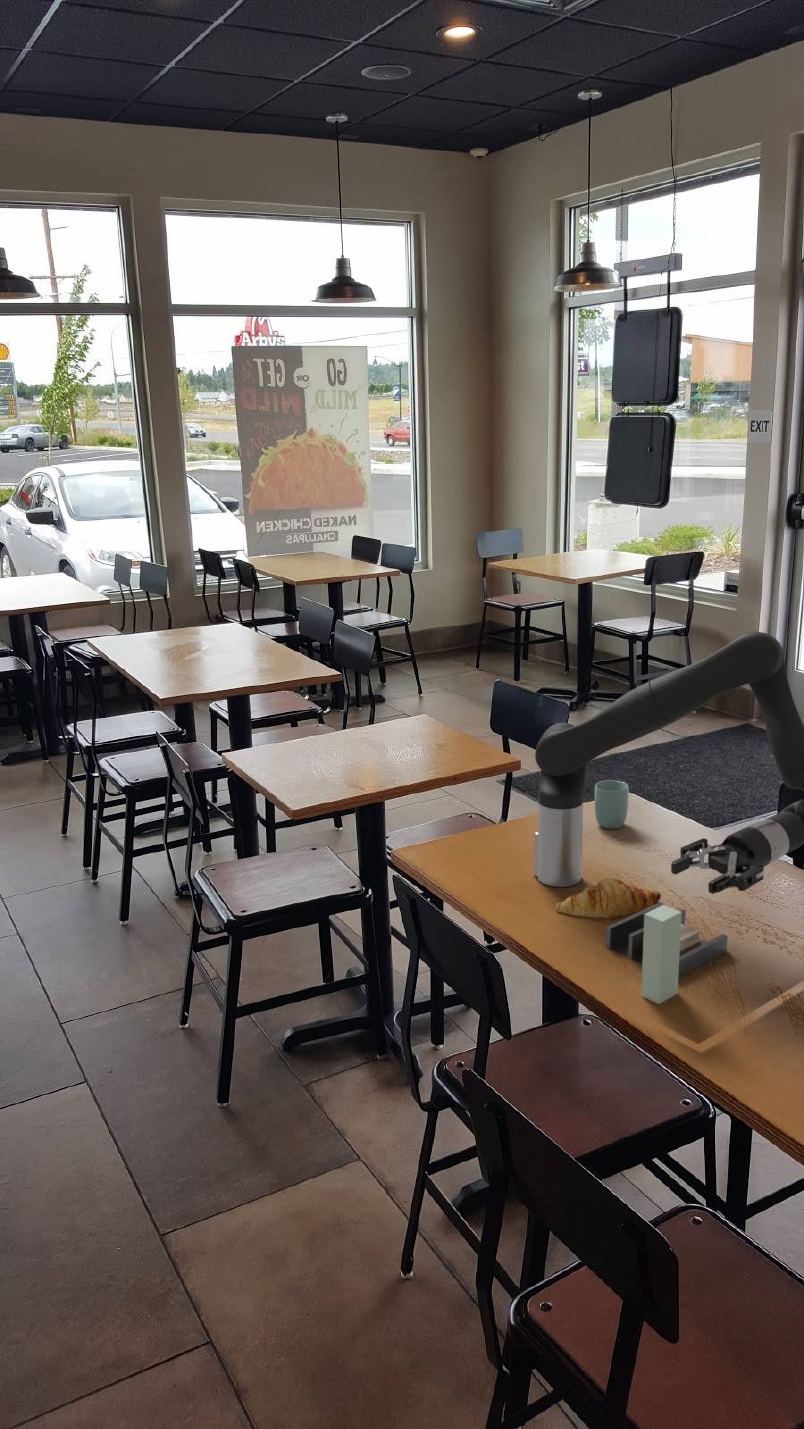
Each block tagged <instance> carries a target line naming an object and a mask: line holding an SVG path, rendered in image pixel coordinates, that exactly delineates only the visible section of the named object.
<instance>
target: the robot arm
mask: <svg viewBox="0 0 804 1429" xmlns="http://www.w3.org/2000/svg"><path fill="white" fill-rule="evenodd" d="M746 685H748V686H749V687H750V689H751V691H752V693H753V695H754V697H755V699H756V702H757V704H758V707H759V709H760V712H761V715H762V720H763V722H764V726H765V729H766V734H767V737H768V743H769V745H770V746H769V747H770V748H771V752H772V755H773V758H774V761H775V763H776V766H777V769H778V772H779V773H780V776H781V778H782V781H783V784H784V785H785V786H786V787H787V788H789V789H796V790H800V791H802V792H803V793H804V722H803V721H802V719H801V718H802V717H801V716H800V714H799V710H798V709H797V705H796V703H795V700H794V697H793V695H792V690H791V688H790V685H789V679H788V674H787V672H786V665H785V660H784V650H783V647H782V645H781V643H780V642H779V641H778V639H777V638H775V637H774V636H773V635H771V634H769V633H766V632H761V631H749V632H746V633H744V634H741V635H739V636H738V637H737V638H736V639H734V640H732V641H731V642H730V643H728V644H727V645H724V647H722V648H720V649H718V650H716V651H715V652H713V653H711V654H710V655H708V656H706V657H705V658H702V659H701V660H699V661H697V662H694V663H692V664H689V665H686V666H684V667H681V668H678V669H676V670H673V671H670V672H667V673H665V674H663V675H660V676H659V677H656V678H654V679H651V680H649V681H646V682H645V683H643V684H641V685H639V686H637V687H634V688H633V689H631V690H629V691H627V692H625V693H624V694H623V695H621V696H620V697H619V698H617V699H616V700H615V701H613V702H612V703H610V704H609V705H607V706H606V707H605V708H604V709H601V711H600V712H598V713H597V714H595V715H594V716H592V717H591V718H589V719H586V720H585V721H582V722H580V723H578V724H576V725H574V724H571V723H570V722H569V723H568V722H557V723H555V724H553V725H551V726H550V727H548V728H547V729H545V731H544V733H543V734H542V736H541V737H540V738H539V740H538V743H537V744H536V748H535V754H534V758H535V763H536V764H537V767H538V769H540V778H539V784H538V790H537V832H535V833H534V834H533V876H535V877H537V879H538V881H539V882H541V883H542V884H544V885H547V886H549V887H550V886H551V887H556V888H557V887H558V888H564V887H565V888H566V887H572V886H575V885H576V884H579V883H580V882H581V880H582V869H583V868H582V866H583V864H582V862H583V828H584V827H583V824H584V822H583V820H584V819H583V818H584V816H583V815H584V812H583V811H584V793H585V785H586V767H587V763H589V762H591V761H593V760H594V759H595V758H598V757H599V756H600V755H603V754H604V753H606V752H609V751H611V750H613V749H616V748H618V747H621V746H623V745H627V744H628V743H631V742H633V741H635V740H638V739H639V738H643V737H645V736H647V735H649V734H652V733H655V732H656V731H659V730H661V729H663V728H665V727H667V726H669V725H671V724H674V723H676V722H677V721H679V720H681V719H683V718H684V717H686V716H688V715H689V714H691V713H693V712H694V711H696V710H697V709H699V708H700V707H702V706H704V705H705V704H706V703H707V702H709V701H711V700H712V699H714V698H715V697H717V696H720V695H722V694H724V693H727V692H729V691H732V690H734V689H737V688H740V687H743V686H746ZM708 842H709V840H708V839H707V838H700V839H698V840H695V841H693V842H691V843H688V844H686V845H684V846H682V847H680V851H679V853H680V857H679V858H677V859H675V860H673V861H672V862H671V863H670V868H671V869H670V872H671V873H672V874H673V875H679V874H680V873H682V872H684V871H686V870H688V869H690V868H699V869H700V870H706V869H708V870H709V869H711V870H713V871H717V872H718V873H719V874H721V875H719V876H718V877H715V878H714V879H712V880H710V881H709V882H708V892H709V894H712V895H715V894H716V893H720V892H723V891H724V890H727V889H733V888H737V891H740V892H743V891H747V890H748V889H750V888H751V887H754V885H756V884H758V883H759V882H762V881H763V880H764V868H765V867H767V866H769V865H771V864H773V863H775V862H776V861H778V860H780V859H781V858H782V857H783V856H785V855H787V854H789V853H791V852H793V851H795V850H797V849H799V848H800V847H801V846H803V845H804V799H800V800H797V801H795V802H793V803H791V804H789V805H787V806H786V807H785V808H783V809H782V810H781V811H780V812H778V813H776V814H774V815H772V816H769V817H767V818H765V819H763V820H760V821H756V822H754V823H751V824H749V825H748V826H746V827H744V828H741V829H739V830H738V831H735V832H733V833H731V834H729V835H728V836H726V838H725V839H723V841H722V843H721V844H717V845H710V844H709V843H708ZM706 855H708V856H707V862H705V856H706ZM696 858H698V859H697V860H694V859H696Z"/></svg>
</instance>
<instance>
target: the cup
mask: <svg viewBox="0 0 804 1429" xmlns="http://www.w3.org/2000/svg"><path fill="white" fill-rule="evenodd" d="M629 790H630V789H629V784H627V783H626V782H624V781H621V780H613V779H612V780H611V779H608V780H600V781H598V782H596V783H595V786H594V815H595V820H596V822H597V823H598V825H599V826H600V827H602V828H604V829H609V830H610V829H619V828H621V827H622V826H623V825H625V823H626V820H627V818H628V812H629V795H630V794H629V793H630V792H629Z"/></svg>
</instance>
